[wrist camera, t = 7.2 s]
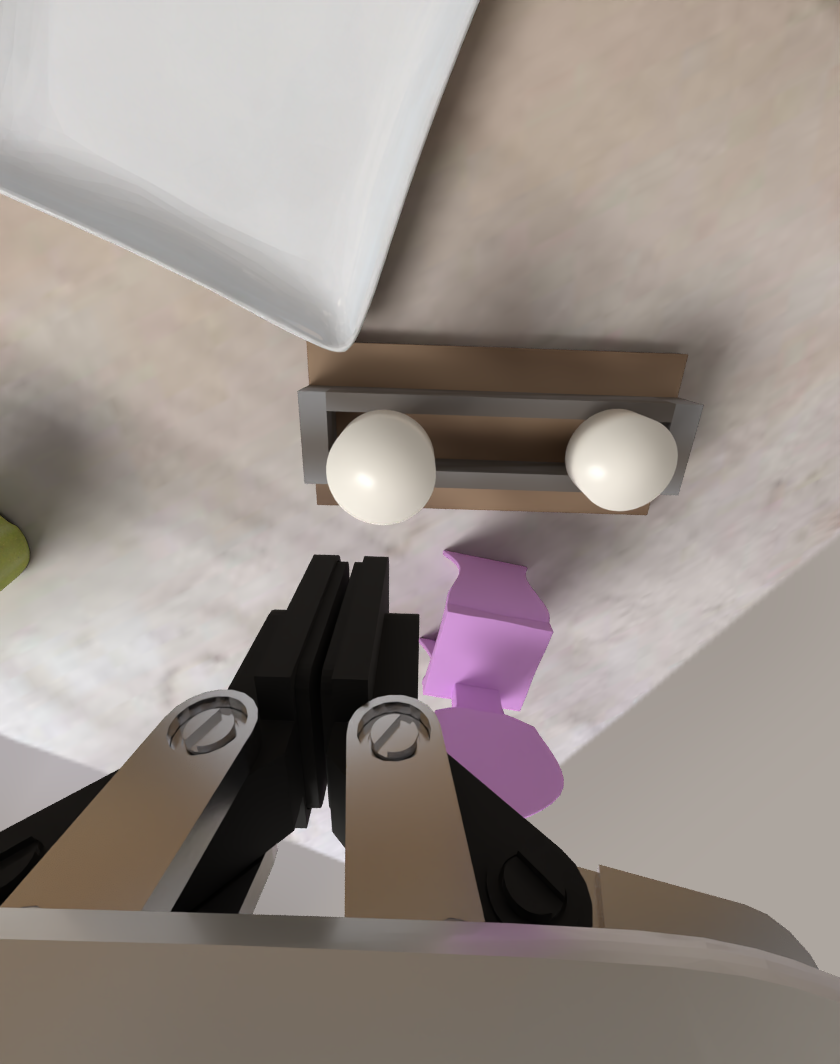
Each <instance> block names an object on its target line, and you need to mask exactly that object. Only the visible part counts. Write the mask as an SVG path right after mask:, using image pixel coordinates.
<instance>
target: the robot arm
mask: <svg viewBox="0 0 840 1064" xmlns="http://www.w3.org/2000/svg"><path fill="white" fill-rule="evenodd" d="M418 660H419V614H399V613H389V557H373V556H364V559H363V562H355V563H354V566H353V570H352V573H351V576H350V578H349V563H348V562H341V560H340V556H339V555H314V556H313V558H312V560H311V562H310V564H309V566H308V568H307V570H306V572H305V574H304V576H303V578H302V580H301V582H300V584H299V586H298V588H297V590H296V592H295V594H294V596H293V598H292V600H291V602H290V604H289V606H288V608H287V610H272V611H271V612H270V614H269V615H268V617H267V619H266V621H265V622H264V624H263V626H262V628H261V630H260V631H259V633H258V635H257V637H256V639H255V641H254V642H253V644H252V646H251V648H250V650H249V651H248V653H247V655H246V657H245V659H244V661H243V662H242V664H241V666H240V668H239V670H238V672H237V673H236V675H235V677H234V679H233V681H232V682H231V684H230V686H229V688H228V690H215V691H210V692H205V693H202V694H200V695H197V696H194V697H192V698H190V699H188V700H186V701H185V702H183V703H181V704H180V705H178V706H176V707H175V708H174V709H173V710H172V711H171V712H170V713H169V714H168V715H167V716H166V717H165V718H164V719H163V720H162V721H161V722H160V723H159V725H158V726H157V727H156V728H155V729H154V730H153V731H152V733H151V734H150V735H149V736H148V737H147V738H146V739H145V741H144V742H143V743H142V744H141V745H140V746H139V747H138V749H137V750H136V751H135V752H134V753H133V754H132V756H131V757H130V758H129V759H128V760H127V761H126V762H125V764H124V765H123V766H122V767H121V768H120V769H118V770H117V771H115V772H113V773H111V774H109V775H107V776H105V777H103V778H101V779H100V780H98V781H96V782H94V783H92V784H90V785H88V786H86V787H84V788H83V789H81V790H79V791H77V792H75V793H73V794H71V795H69V796H68V797H66V798H63V799H62V800H60V801H58V802H56V803H54V804H52V805H50V806H48V807H47V808H45V809H43V810H41V811H39V812H37V813H35V814H33V815H31V816H29V817H27V818H26V819H24V820H22V821H20V822H18V823H16V824H14V825H13V826H10V827H9V828H7V829H5V830H3V831H1V832H0V1064H840V978H839V977H837V976H834V975H832V974H829V973H826V972H824V971H821V970H819V969H818V967H817V965H816V964H815V962H814V960H813V959H812V957H811V955H810V954H809V953H808V951H807V950H806V949H805V948H804V947H803V946H802V945H801V944H800V943H799V941H798V940H797V939H796V938H795V937H794V936H793V935H792V934H791V933H790V932H789V931H788V930H787V929H786V928H784V927H783V926H782V925H780V924H779V923H777V922H776V921H775V920H774V919H772V918H771V917H770V916H768V915H767V914H765V913H763V912H761V911H758V910H756V909H754V908H751V907H749V906H747V905H745V904H741V903H737V902H734V901H730V900H726V899H722V898H719V897H716V896H712V895H708V894H704V893H701V892H697V891H694V890H690V889H686V888H682V887H679V886H675V885H672V884H668V883H665V882H661V881H657V880H654V879H650V878H646V877H642V876H639V875H635V874H631V873H628V872H624V871H621V870H617V869H613V868H610V867H606V866H602V865H599V866H598V870H597V872H594V871H591V870H587V869H584V868H580V867H577V866H576V864H575V863H574V862H573V861H572V860H571V859H570V858H569V857H568V856H567V855H566V854H565V853H564V852H563V851H562V849H560V848H559V847H558V846H557V845H556V844H554V843H553V842H552V841H551V840H550V839H548V838H547V837H546V836H545V835H544V834H543V833H541V832H540V831H539V830H538V829H537V828H535V827H534V826H533V825H532V824H531V823H530V822H528V821H527V820H526V819H525V818H524V817H523V816H521V815H520V814H519V813H518V812H517V811H515V810H514V809H513V808H512V807H511V806H510V805H508V804H507V803H506V802H505V801H504V800H502V799H501V798H500V797H499V796H498V795H497V794H495V793H494V792H493V791H492V790H491V789H489V788H488V787H487V786H486V785H485V784H484V783H482V782H481V781H480V780H479V779H478V778H476V777H475V776H474V775H473V774H472V773H471V772H469V771H468V770H467V769H466V768H465V767H463V766H462V765H461V764H460V763H459V762H458V761H456V760H455V759H454V758H453V757H452V756H450V755H449V754H448V753H447V752H446V747H445V743H444V738H443V734H442V730H441V725H440V723H439V720H438V718H437V716H436V714H435V713H434V712H433V711H432V710H431V709H430V707H429V706H428V705H426V704H424V703H423V702H421V701H419V700H418ZM326 786H328V799H329V808H331V820H332V832H333V833H334V834H335V836H336V837H337V838H338V840H339V841H340V842H341V843H342V845H343V846H344V847H345V917H319V916H286V915H254V914H253V912H254V909H255V907H256V905H257V902H258V900H259V897H260V895H261V893H262V890H263V888H264V886H265V884H266V881H267V879H268V876H269V874H270V872H271V869H272V867H273V865H274V862H275V858H276V854H277V851H278V843H279V842H280V841H281V840H283V839H284V838H285V837H286V836H288V835H289V834H290V833H292V832H293V831H294V829H295V828H307V825H308V821H309V817H310V813H311V809H312V808H321V807H322V804H323V800H324V796H325V791H326Z"/></svg>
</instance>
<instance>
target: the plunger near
mask: <svg viewBox="0 0 840 1064" xmlns="http://www.w3.org/2000/svg"><path fill="white" fill-rule="evenodd" d="M326 475H327V482H328V485H329V488H330V491H331V493H332V495H333V497H334V498H335V500H336V501H337V503H338V504H339V505H340V506H341V507H342V508H343V509H344V510H345V511H346V512H347V513H349V514H350V515H351V516H353V517H355V518H357V519H359V520H361V521H364V522H366V523H370V524H376V525H390V524H396V523H399V522H402V521H405V520H407V519H409V518H411V517H412V516H414V515H415V514H417V513H418V512H419V511H420V510H421V509H422V508H423V507H424V506H425V504H426V503H427V502H428V500H429V498H430V497H431V494H432V492H433V489H434V486H435V480H436V467H435V457H434V450H433V446H432V443H431V440H430V438H429V436H428V435H427V433H426V431H425V430H424V429H423V428H422V426H421V425H420V424H418V423H417V422H416V421H415V420H414V419H412V418H411V417H409V416H407V415H405V414H403V413H400V412H397V411H393V410H375V411H370V412H367V413H364V414H362V415H360V416H358V417H357V418H355V419H354V420H353V421H352V422H350V423H349V424H348V426H347V427H346V428H345V429H344V430H343V432H342V433H341V434H340V436H339V437H338V438H337V440H336V441H335V443H334V444H333V446H332V448H331V450H330V452H329V455H328V459H327V465H326Z"/></svg>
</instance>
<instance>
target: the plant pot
mask: <svg viewBox="0 0 840 1064" xmlns="http://www.w3.org/2000/svg"><path fill="white" fill-rule="evenodd" d="M29 554H30V553H29V547H28V544H27V541H26V539H25V537H24V535H23V534H22V532H21V531H20V530H19V528H18V527H17V526H15V525H13V524H11V523H9V522H8V521H6V520H5V519H4V518H3V517H1V516H0V591H1V590H3V589H4V588H5V587H6V586H7V585H8V584H10V583H11V582H12V581H13V580H14V579H15V578H17V577H18V576H19V575H20V574H21V573H22V572H23V570H24V569H25V568H26V566H27V564H28V562H29Z"/></svg>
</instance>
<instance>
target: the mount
mask: <svg viewBox="0 0 840 1064" xmlns="http://www.w3.org/2000/svg"><path fill="white" fill-rule="evenodd" d="M306 342H307V357H308V372H309V386H307V387H305V388H303V389H301V390H299V391H298V404H299V417H300V430H301V443H302V457H303V470H304V483H307V484H316V494H317V505H339V504H338V503H337V501H336V500H335V498H334V497H333V495H332V493H331V491H330V488H329V485H328V482H327V475H326V465H327V459H328V455H329V452H330V450H331V448H332V446H333V444H334V443H335V441H336V440H337V438H338V437H339V436H340V434H341V433H342V432H343V430H344V429H345V428H346V427H347V426H348V424H349V423H350V422H352V421H353V420H354V419H355V418H357V417H358V416H360V415H362V414H364V413H367V412H370V411H375V410H393V411H397V412H400V413H403V414H405V415H407V416H409V417H411V418H412V419H414V420H415V421H416V422H417V423H418V424H420V425H421V426H422V428H423V429H424V430H425V431H426V433H427V435H428V436H429V438H430V440H431V443H432V446H433V450H434V457H435V467H436V480H435V486H434V489H433V492H432V494H431V497H430V498H429V500H428V502H427V503H426V504H425V506H424V507H423V508H436V509H468V510H500V511H531V512H563V513H595V514H627V515H647V513H648V509H649V506H650V502H649V503H647V504H645V505H643V506H641V507H639V508H636V509H632V510H627V511H611V510H607V509H604V508H601V507H599V506H597V505H596V504H594V503H593V502H592V501H591V500H590V499H589V498H588V497H587V496H586V495H585V494H584V493H583V492H582V491H581V490H580V489H579V488H578V487H577V486H576V485H575V484H574V483H573V482H572V480H571V479H570V477H569V475H568V473H567V470H566V465H565V454H566V449H567V445H568V443H569V440H570V438H571V436H572V435H573V433H574V432H575V430H576V429H577V428H578V427H579V426H580V425H581V424H582V423H583V422H584V421H585V420H587V419H588V418H589V417H591V416H593V415H594V414H597V413H599V412H601V411H605V410H609V409H626V410H630V411H633V412H635V413H638V414H640V415H643V416H645V417H648V418H650V419H653V420H655V421H657V422H659V423H661V424H662V425H664V426H665V427H666V428H667V429H668V430H669V431H670V432H671V434H672V436H673V437H674V440H675V442H676V445H677V451H678V460H677V466H676V469H675V472H674V475H673V477H672V479H671V481H670V482H669V484H668V485H667V487H666V488H665V489H664V490H663V491H662V493H661V494H660V495H678V494H679V491H680V487H681V484H682V480H683V477H684V473H685V470H686V466H687V463H688V459H689V455H690V452H691V448H692V445H693V441H694V438H695V434H696V431H697V427H698V424H699V420H700V417H701V413H702V409H703V406H704V405H703V404H699V403H695V402H692V401H688V400H684V399H681V398H677V397H678V393H679V389H680V385H681V381H682V377H683V373H684V369H685V366H686V362H687V358H688V355H687V354H673V353H644V352H615V351H586V350H558V349H529V348H500V347H472V346H443V345H414V344H386V343H357V342H354V343H353V345H352V346H351V347H350V348H349V349H348V350H347V351H345V352H334V351H330V350H327V349H324V348H322V347H319V346H317V345H315V344H313V343H310V342H308V341H306Z"/></svg>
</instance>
